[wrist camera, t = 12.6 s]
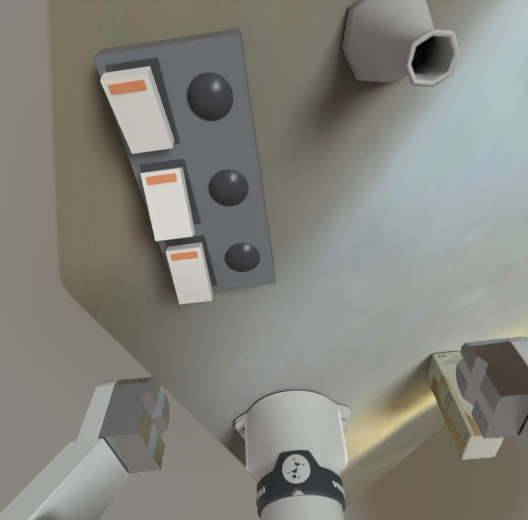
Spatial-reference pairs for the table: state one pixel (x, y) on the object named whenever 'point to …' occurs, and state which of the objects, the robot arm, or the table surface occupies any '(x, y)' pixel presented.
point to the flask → (397, 43)
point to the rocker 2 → (190, 273)
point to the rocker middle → (168, 203)
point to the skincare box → (458, 408)
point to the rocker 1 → (138, 109)
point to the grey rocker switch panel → (207, 149)
